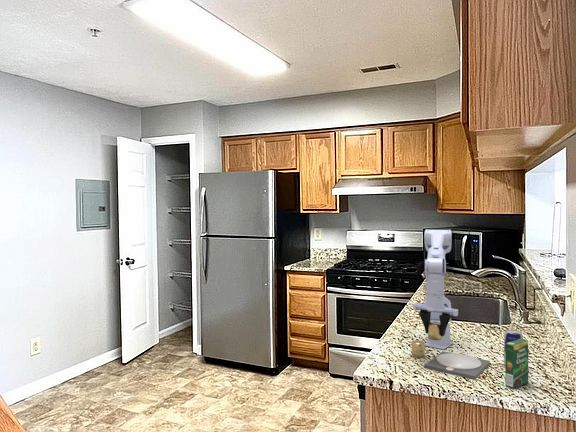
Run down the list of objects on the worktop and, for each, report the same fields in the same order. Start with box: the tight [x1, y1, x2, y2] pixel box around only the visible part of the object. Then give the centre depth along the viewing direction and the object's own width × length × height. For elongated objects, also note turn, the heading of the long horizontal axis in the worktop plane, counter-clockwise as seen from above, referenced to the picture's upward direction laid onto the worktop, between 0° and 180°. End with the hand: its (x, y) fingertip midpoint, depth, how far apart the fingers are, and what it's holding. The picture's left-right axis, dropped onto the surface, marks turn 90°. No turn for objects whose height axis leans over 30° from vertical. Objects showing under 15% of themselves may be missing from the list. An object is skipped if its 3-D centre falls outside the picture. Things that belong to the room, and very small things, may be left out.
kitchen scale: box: [423, 350, 491, 380], centre depth 149 cm, size 17×16×2 cm
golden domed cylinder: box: [427, 322, 442, 340], centre depth 149 cm, size 4×4×5 cm
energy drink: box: [503, 329, 524, 369], centre depth 146 cm, size 5×5×12 cm
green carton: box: [504, 338, 529, 390], centre depth 133 cm, size 8×3×13 cm, turn 122°
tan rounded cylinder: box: [411, 339, 426, 359], centre depth 158 cm, size 4×4×5 cm
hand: (435, 334), depth 149 cm, fingers closed on golden domed cylinder, 4 cm apart
